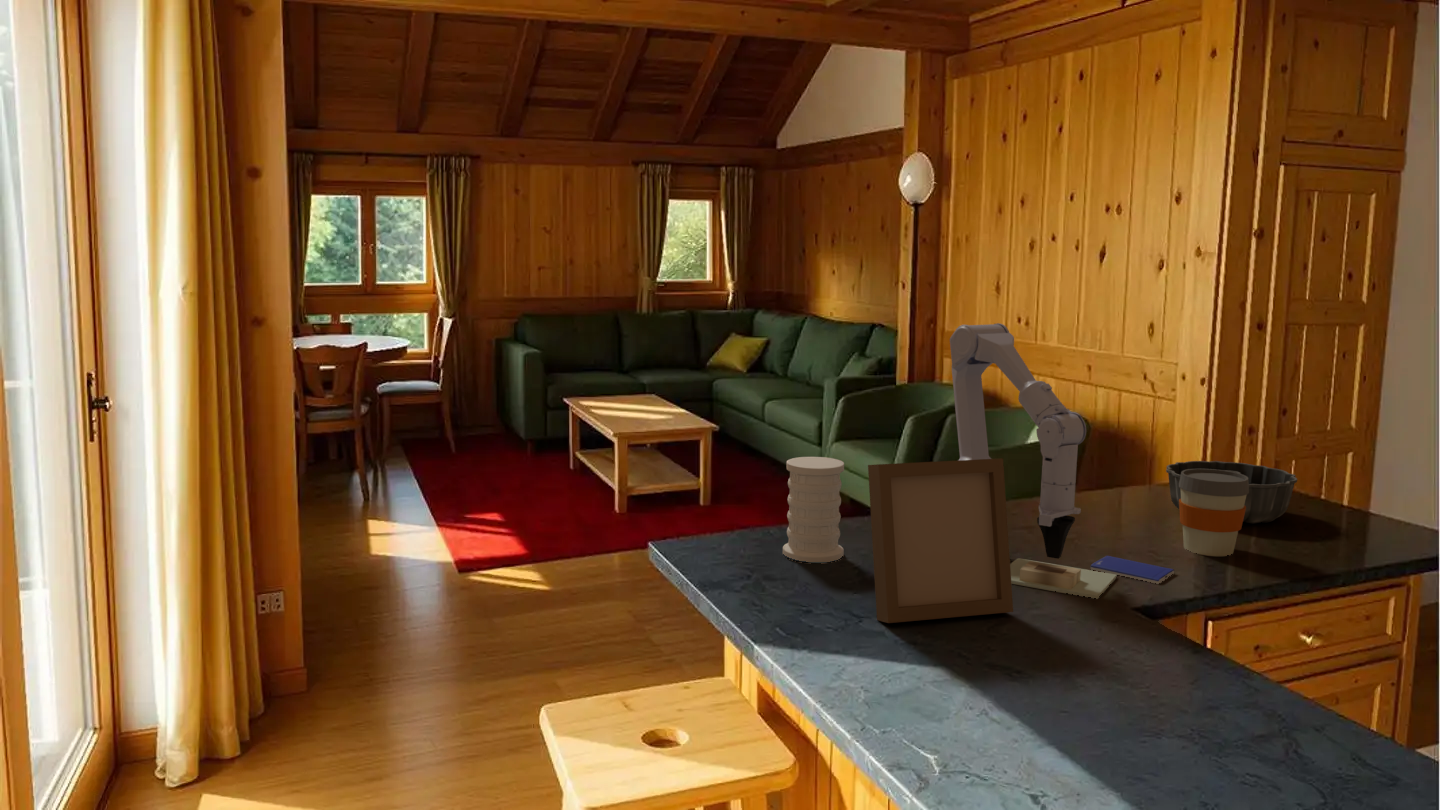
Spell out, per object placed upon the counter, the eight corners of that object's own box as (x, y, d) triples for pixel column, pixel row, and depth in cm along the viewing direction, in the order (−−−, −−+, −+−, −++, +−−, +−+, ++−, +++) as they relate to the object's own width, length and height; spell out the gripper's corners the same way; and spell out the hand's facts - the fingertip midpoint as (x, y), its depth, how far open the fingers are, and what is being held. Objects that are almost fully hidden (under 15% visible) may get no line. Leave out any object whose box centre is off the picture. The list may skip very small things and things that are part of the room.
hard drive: (1090, 564, 202) (1158, 578, 194) (1107, 554, 208) (1174, 568, 200) (1089, 572, 202) (1158, 587, 194) (1107, 562, 208) (1173, 576, 200)
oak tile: (1029, 571, 199) (1019, 580, 194) (1030, 560, 198) (1020, 569, 193) (1080, 580, 194) (1071, 589, 189) (1080, 569, 194) (1071, 577, 189)
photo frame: (1012, 617, 176) (1021, 465, 172) (887, 629, 171) (893, 471, 167) (968, 588, 190) (975, 447, 187) (851, 598, 185) (856, 452, 181)
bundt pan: (1139, 503, 254) (1142, 460, 252) (1241, 499, 258) (1245, 457, 257) (1209, 533, 228) (1213, 486, 227) (1321, 528, 233) (1325, 482, 231)
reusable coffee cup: (1229, 542, 222) (1236, 469, 219) (1253, 560, 209) (1260, 483, 207) (1165, 539, 223) (1171, 467, 220) (1185, 557, 210) (1191, 481, 208)
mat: (993, 580, 195) (993, 577, 195) (1017, 561, 207) (1017, 558, 207) (1097, 599, 186) (1097, 595, 186) (1116, 577, 197) (1116, 574, 197)
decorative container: (822, 567, 202) (825, 471, 199) (770, 555, 209) (772, 463, 206) (854, 553, 211) (857, 461, 208) (803, 542, 218) (806, 453, 215)
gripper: (1070, 492, 184) (1065, 571, 186) (1092, 477, 196) (1087, 550, 198) (1028, 487, 187) (1024, 564, 189) (1052, 472, 199) (1048, 544, 202)
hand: (1053, 556), depth 194 cm, fingers closed
